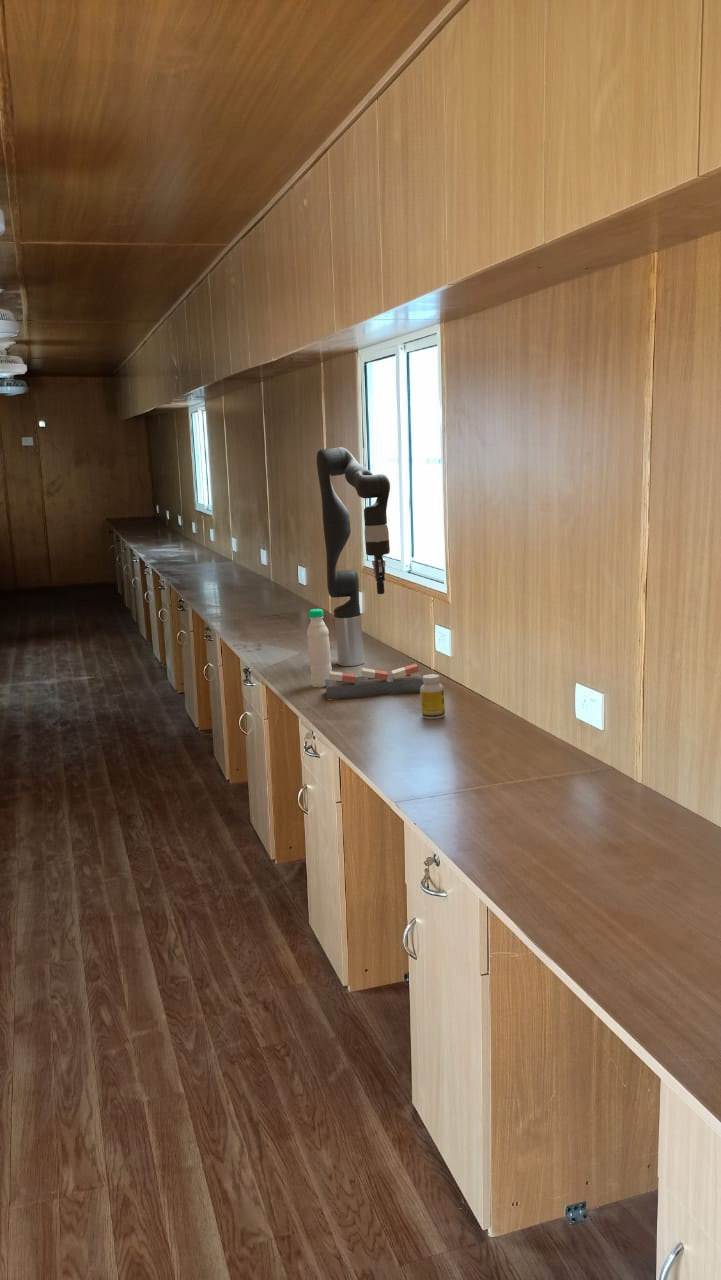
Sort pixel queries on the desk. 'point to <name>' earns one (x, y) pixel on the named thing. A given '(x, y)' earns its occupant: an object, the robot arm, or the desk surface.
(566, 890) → the desk surface
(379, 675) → the block
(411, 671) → the rocker
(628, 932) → the desk surface
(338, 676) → the rocker
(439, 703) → the pill bottle
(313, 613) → the water bottle
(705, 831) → the desk surface
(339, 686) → the power strip
